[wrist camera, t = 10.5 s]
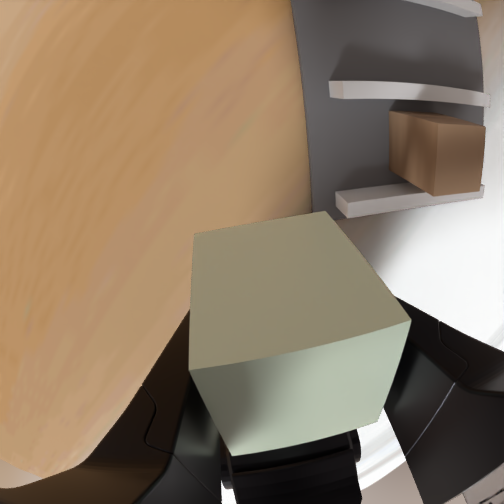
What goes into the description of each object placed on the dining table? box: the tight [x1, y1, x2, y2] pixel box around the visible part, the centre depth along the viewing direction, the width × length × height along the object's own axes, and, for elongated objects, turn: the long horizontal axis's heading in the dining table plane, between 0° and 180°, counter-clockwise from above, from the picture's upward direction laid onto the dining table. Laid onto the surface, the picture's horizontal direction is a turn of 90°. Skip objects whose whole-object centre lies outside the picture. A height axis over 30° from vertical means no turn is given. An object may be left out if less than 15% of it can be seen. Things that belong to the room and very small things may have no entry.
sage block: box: [189, 211, 411, 456], centre depth 8 cm, size 4×4×5 cm
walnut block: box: [389, 111, 486, 197], centre depth 16 cm, size 4×4×5 cm
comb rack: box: [290, 0, 490, 220], centre depth 15 cm, size 17×15×2 cm
